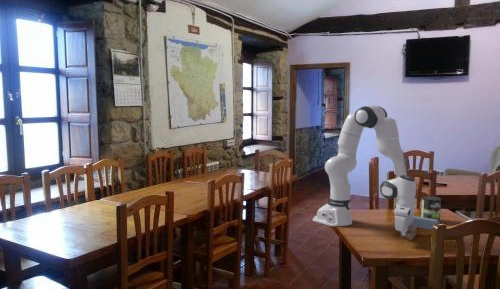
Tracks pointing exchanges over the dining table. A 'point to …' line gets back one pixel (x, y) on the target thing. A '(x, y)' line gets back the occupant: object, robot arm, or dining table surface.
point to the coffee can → (431, 207)
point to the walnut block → (410, 232)
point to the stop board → (423, 222)
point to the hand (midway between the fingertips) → (404, 234)
